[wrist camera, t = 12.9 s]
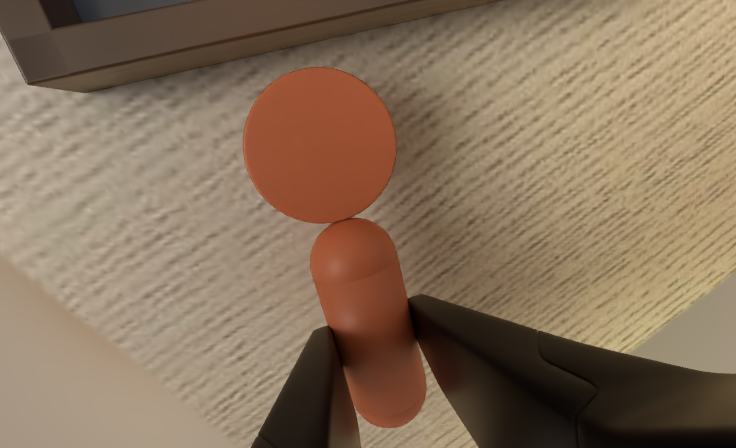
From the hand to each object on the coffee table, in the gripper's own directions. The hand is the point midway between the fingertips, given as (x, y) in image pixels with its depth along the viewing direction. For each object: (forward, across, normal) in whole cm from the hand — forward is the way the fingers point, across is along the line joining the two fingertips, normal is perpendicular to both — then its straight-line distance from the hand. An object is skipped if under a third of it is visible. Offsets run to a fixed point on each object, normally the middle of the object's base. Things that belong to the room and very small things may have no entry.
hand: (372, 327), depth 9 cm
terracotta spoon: (+1, 0, -2) cm, 2 cm away
